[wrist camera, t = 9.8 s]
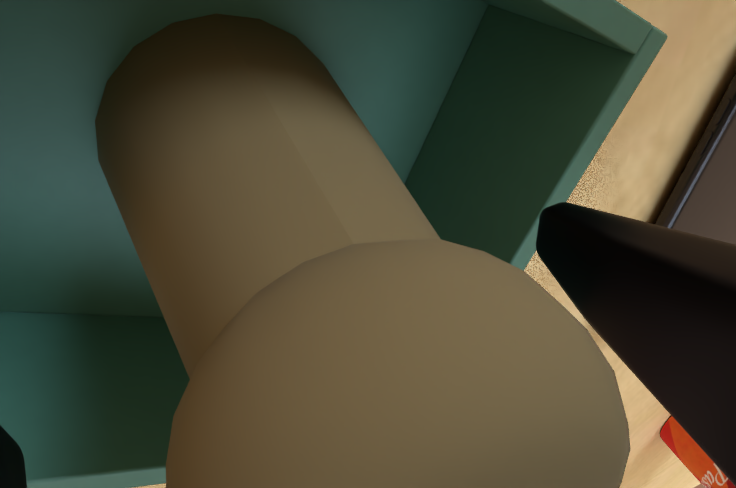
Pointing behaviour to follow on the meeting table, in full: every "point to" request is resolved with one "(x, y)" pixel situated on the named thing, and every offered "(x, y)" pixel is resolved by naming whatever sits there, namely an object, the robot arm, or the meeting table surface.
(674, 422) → the paper cup
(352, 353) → the brown pawn
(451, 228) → the tote
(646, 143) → the meeting table surface
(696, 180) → the smartphone
